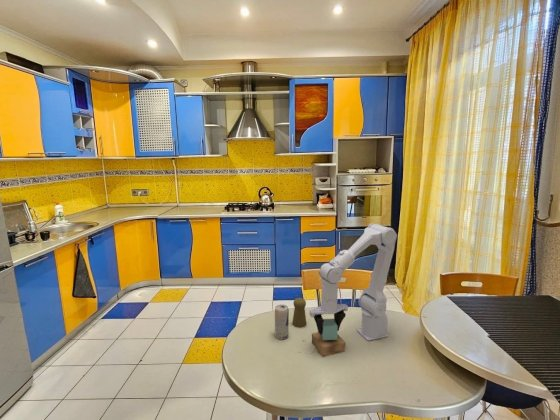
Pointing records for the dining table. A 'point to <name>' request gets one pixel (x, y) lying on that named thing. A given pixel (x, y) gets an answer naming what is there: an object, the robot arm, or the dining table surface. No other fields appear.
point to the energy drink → (281, 322)
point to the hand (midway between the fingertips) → (328, 331)
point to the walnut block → (328, 345)
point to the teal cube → (329, 329)
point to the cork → (299, 313)
